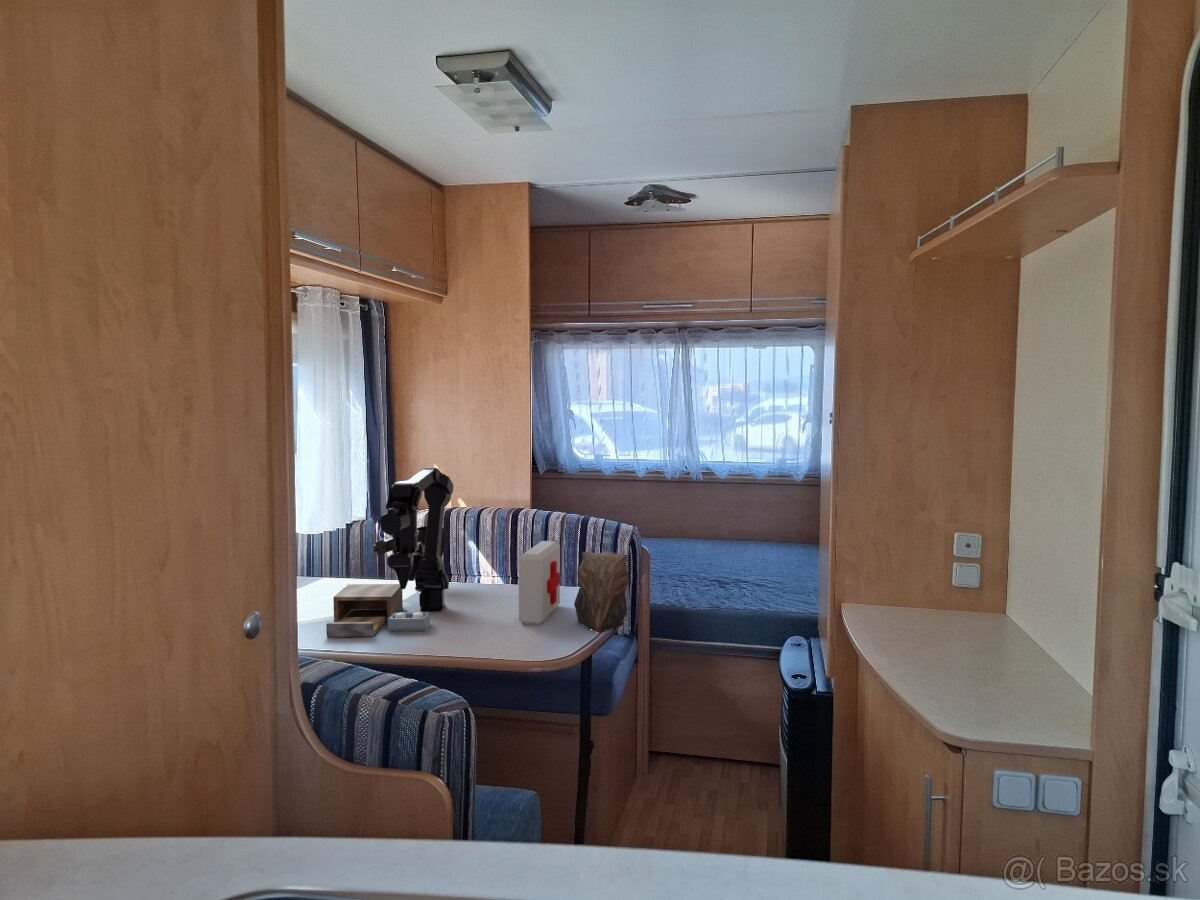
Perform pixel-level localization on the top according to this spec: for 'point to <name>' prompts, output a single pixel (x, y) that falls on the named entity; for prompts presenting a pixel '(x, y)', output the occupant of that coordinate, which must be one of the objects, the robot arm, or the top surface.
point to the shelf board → (354, 626)
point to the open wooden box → (368, 599)
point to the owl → (602, 590)
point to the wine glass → (421, 538)
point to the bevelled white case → (539, 582)
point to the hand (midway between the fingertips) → (407, 584)
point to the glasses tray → (409, 621)
